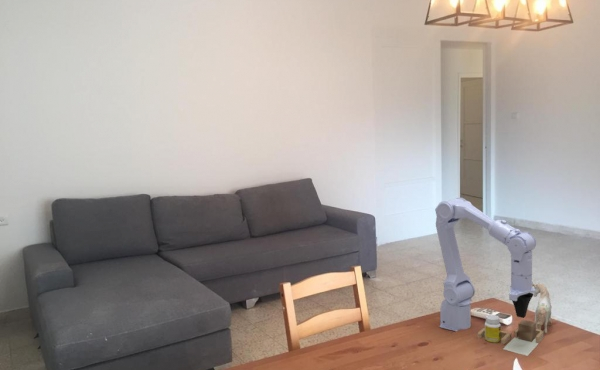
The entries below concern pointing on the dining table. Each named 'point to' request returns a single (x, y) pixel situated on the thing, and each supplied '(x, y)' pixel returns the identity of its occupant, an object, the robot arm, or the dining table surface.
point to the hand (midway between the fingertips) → (521, 316)
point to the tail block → (527, 330)
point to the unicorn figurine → (542, 307)
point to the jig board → (517, 341)
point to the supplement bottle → (492, 329)
